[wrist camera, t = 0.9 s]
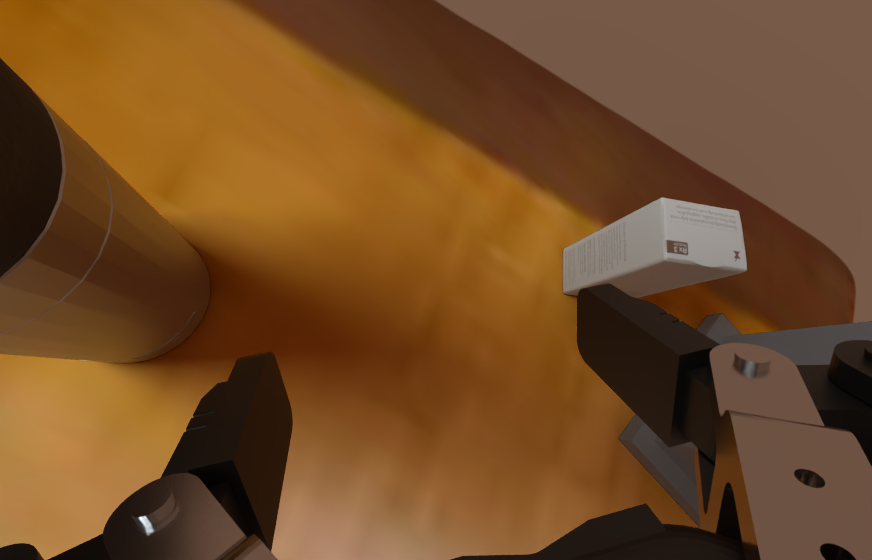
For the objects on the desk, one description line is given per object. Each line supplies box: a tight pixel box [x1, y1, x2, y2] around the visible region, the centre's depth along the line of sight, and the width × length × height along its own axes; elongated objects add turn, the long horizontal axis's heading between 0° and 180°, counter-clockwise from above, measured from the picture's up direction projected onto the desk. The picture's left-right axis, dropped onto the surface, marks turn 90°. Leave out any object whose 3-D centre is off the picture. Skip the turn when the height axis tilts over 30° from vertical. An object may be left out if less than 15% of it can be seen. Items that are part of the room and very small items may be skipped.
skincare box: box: [563, 198, 747, 298], centre depth 31 cm, size 6×4×12 cm
